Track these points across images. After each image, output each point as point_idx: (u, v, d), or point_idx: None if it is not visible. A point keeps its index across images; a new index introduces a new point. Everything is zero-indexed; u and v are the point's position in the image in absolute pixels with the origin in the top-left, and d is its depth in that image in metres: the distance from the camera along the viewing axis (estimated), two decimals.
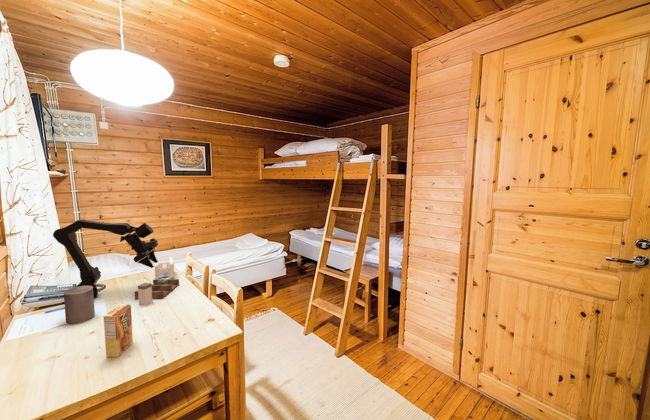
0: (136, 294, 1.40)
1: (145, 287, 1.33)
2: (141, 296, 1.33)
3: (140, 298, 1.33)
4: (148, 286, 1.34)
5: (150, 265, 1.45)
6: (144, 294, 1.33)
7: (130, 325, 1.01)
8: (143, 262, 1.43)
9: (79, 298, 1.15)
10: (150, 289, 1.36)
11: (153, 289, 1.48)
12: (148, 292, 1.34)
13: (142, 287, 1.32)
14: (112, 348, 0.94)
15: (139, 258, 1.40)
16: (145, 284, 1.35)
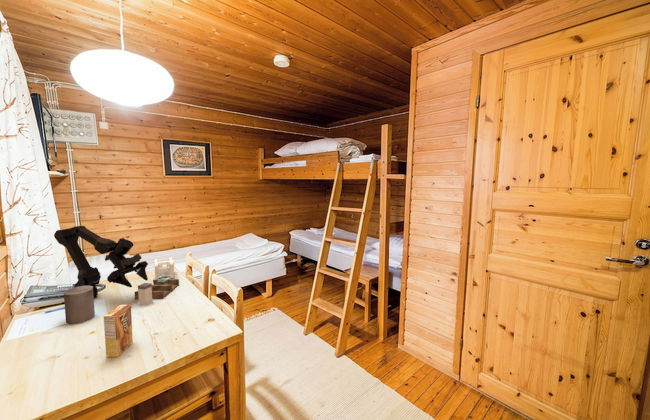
0: (136, 294, 1.40)
1: (145, 287, 1.33)
2: (141, 296, 1.33)
3: (140, 298, 1.33)
4: (148, 286, 1.34)
5: (127, 284, 1.30)
6: (144, 294, 1.33)
7: (130, 325, 1.01)
8: (120, 281, 1.30)
9: (79, 298, 1.15)
10: (150, 289, 1.36)
11: (153, 289, 1.48)
12: (148, 292, 1.34)
13: (142, 287, 1.32)
14: (112, 348, 0.94)
15: (110, 278, 1.26)
16: (145, 284, 1.35)
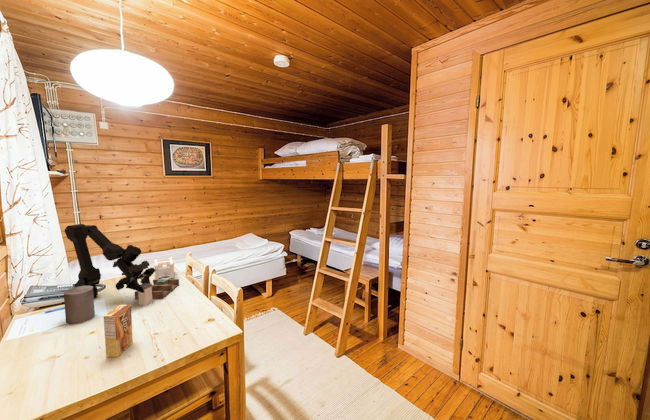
0: (136, 294, 1.40)
1: (145, 287, 1.33)
2: (141, 296, 1.33)
3: (140, 298, 1.33)
4: (148, 286, 1.34)
5: (140, 290, 1.32)
6: (144, 294, 1.33)
7: (130, 325, 1.01)
8: (132, 287, 1.31)
9: (79, 298, 1.15)
10: (150, 289, 1.36)
11: (153, 289, 1.48)
12: (148, 292, 1.34)
13: (142, 287, 1.32)
14: (112, 348, 0.94)
15: (119, 285, 1.26)
16: (145, 284, 1.35)
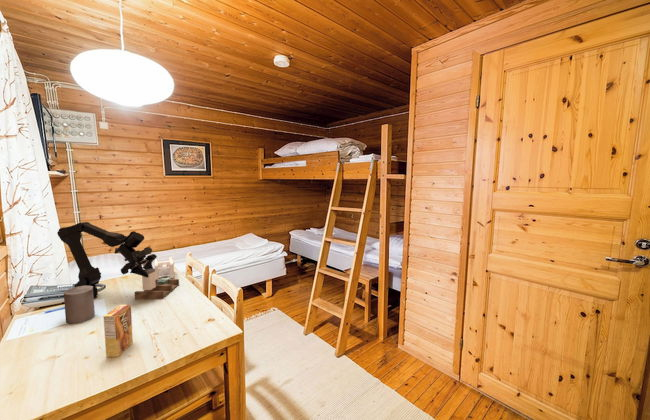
0: (136, 294, 1.40)
1: (149, 272, 1.36)
2: (145, 280, 1.37)
3: (144, 283, 1.37)
4: (152, 271, 1.38)
5: (144, 274, 1.35)
6: (148, 279, 1.36)
7: (130, 325, 1.01)
8: (137, 272, 1.35)
9: (79, 298, 1.15)
10: (154, 274, 1.39)
11: (153, 289, 1.48)
12: (152, 277, 1.38)
13: (146, 272, 1.36)
14: (112, 348, 0.94)
15: (124, 270, 1.29)
16: (149, 269, 1.38)
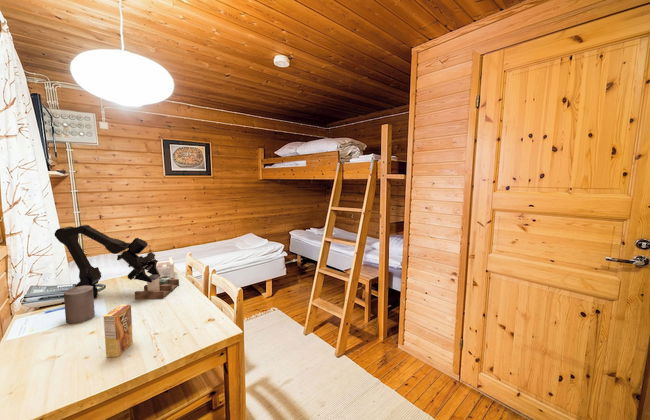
0: (136, 294, 1.40)
1: (155, 278, 1.43)
2: (150, 286, 1.43)
3: (149, 288, 1.43)
4: (157, 277, 1.44)
5: (148, 280, 1.40)
6: (154, 284, 1.43)
7: (130, 325, 1.01)
8: (140, 278, 1.38)
9: (79, 298, 1.15)
10: (158, 280, 1.46)
11: None
12: (157, 283, 1.45)
13: (152, 278, 1.42)
14: (112, 348, 0.94)
15: (132, 275, 1.34)
16: (153, 275, 1.44)
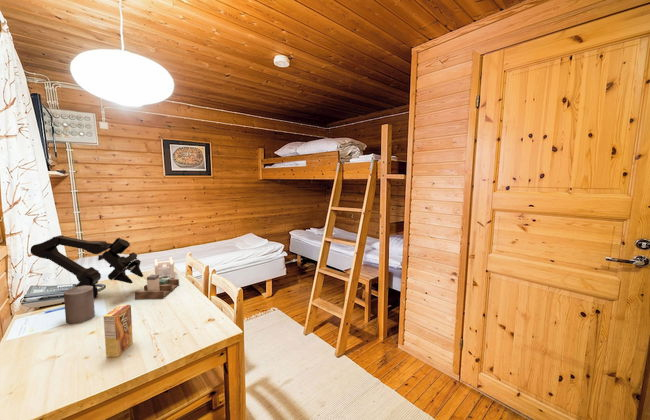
0: (136, 294, 1.40)
1: (155, 278, 1.43)
2: (150, 286, 1.43)
3: (149, 288, 1.43)
4: (157, 277, 1.44)
5: (128, 281, 1.38)
6: (154, 284, 1.43)
7: (130, 325, 1.01)
8: (120, 279, 1.37)
9: (79, 298, 1.15)
10: (158, 280, 1.46)
11: None
12: (157, 283, 1.45)
13: (152, 278, 1.42)
14: (112, 348, 0.94)
15: (112, 275, 1.33)
16: (153, 275, 1.44)
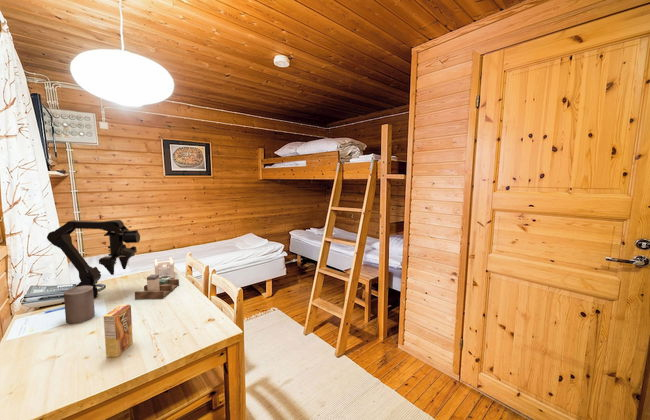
0: (136, 294, 1.40)
1: (155, 278, 1.43)
2: (150, 286, 1.43)
3: (149, 288, 1.43)
4: (157, 277, 1.44)
5: (111, 272, 1.38)
6: (154, 284, 1.43)
7: (130, 325, 1.01)
8: (106, 266, 1.37)
9: (79, 298, 1.15)
10: (158, 280, 1.46)
11: None
12: (157, 283, 1.45)
13: (152, 278, 1.42)
14: (112, 348, 0.94)
15: (103, 262, 1.34)
16: (153, 275, 1.44)
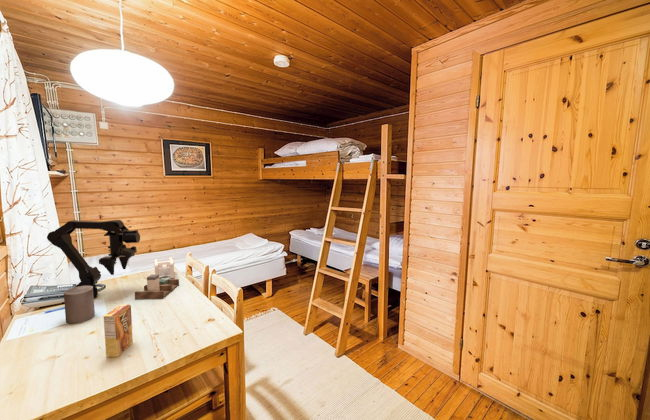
0: (136, 294, 1.40)
1: (155, 278, 1.43)
2: (150, 286, 1.43)
3: (149, 288, 1.43)
4: (157, 277, 1.44)
5: (111, 272, 1.38)
6: (154, 284, 1.43)
7: (130, 325, 1.01)
8: (106, 266, 1.37)
9: (79, 298, 1.15)
10: (158, 280, 1.46)
11: None
12: (157, 283, 1.45)
13: (152, 278, 1.42)
14: (112, 348, 0.94)
15: (103, 262, 1.34)
16: (153, 275, 1.44)
